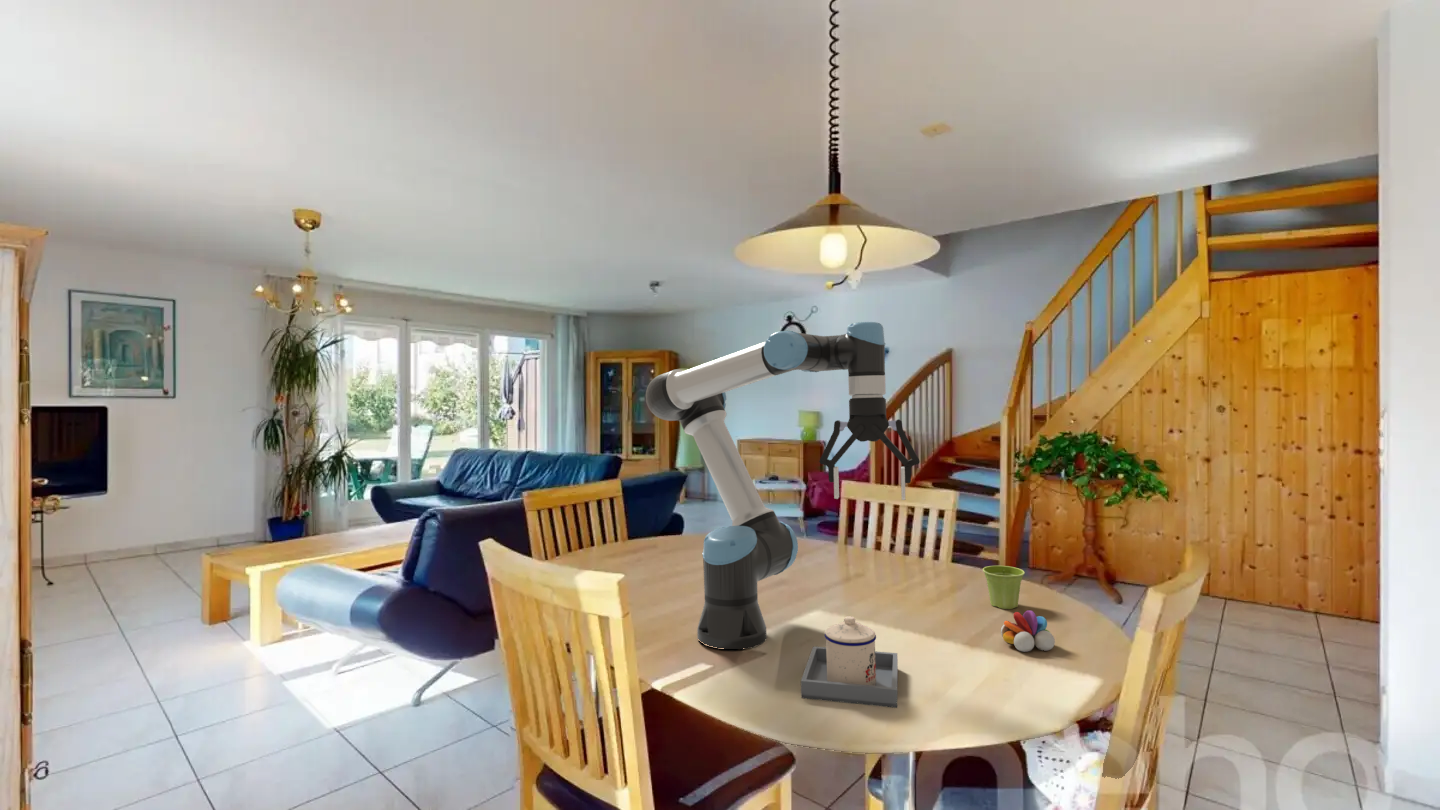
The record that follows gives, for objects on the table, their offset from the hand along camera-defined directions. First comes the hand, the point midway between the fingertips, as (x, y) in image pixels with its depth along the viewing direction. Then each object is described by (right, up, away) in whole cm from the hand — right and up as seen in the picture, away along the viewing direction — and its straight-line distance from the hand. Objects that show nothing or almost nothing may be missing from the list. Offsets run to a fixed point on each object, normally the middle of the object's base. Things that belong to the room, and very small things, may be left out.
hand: (869, 498), depth 133 cm
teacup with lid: (-7, -31, -17) cm, 36 cm away
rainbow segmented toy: (+32, -30, -2) cm, 44 cm away
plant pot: (+39, -30, +24) cm, 54 cm away
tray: (-7, -31, -17) cm, 36 cm away
